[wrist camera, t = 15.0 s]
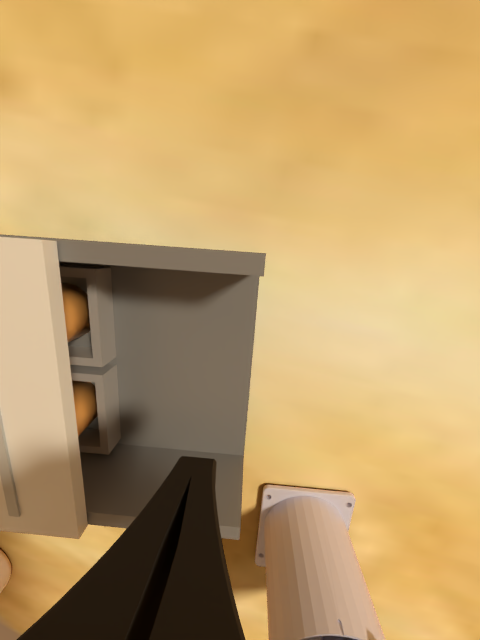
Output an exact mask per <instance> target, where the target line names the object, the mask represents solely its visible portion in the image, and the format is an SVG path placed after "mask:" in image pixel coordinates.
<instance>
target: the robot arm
mask: <svg viewBox="0 0 480 640" xmlns="http://www.w3.org/2000/svg"><path fill="white" fill-rule="evenodd" d="M216 465H217V462H216V460H215V459H210V458H200V457H189V456H181V457H180V458H179V459H178V461H177V463H176V464H175V466H174V467H173V469H172V470H171V472H170V473H169V475H168V476H167V478H166V479H165V481H164V482H163V483H162V485H161V486H160V488H159V489H158V490H157V492H156V493H155V494H154V495H153V497H152V498H151V499H150V501H149V502H148V503H147V505H146V506H145V507H144V509H143V510H142V511H141V512H140V514H139V515H138V516H137V517H136V518H135V520H134V521H133V522H132V523H131V524H130V526H129V527H128V528H127V529H126V530H125V531H124V533H123V534H122V535H121V536H120V537H119V539H118V540H117V541H116V542H115V543H114V544H113V545H112V546H111V548H110V549H109V550H108V551H107V552H106V553H105V554H104V555H103V556H102V557H101V558H100V559H99V560H98V562H97V563H96V564H95V565H94V566H93V567H92V568H91V569H90V570H89V571H88V572H87V573H86V574H85V575H84V576H83V577H82V578H81V579H80V580H79V581H78V582H77V583H76V584H75V585H74V586H73V587H72V588H71V589H70V590H69V591H68V592H67V593H66V594H65V595H64V596H63V597H62V598H61V599H60V600H59V601H58V602H57V603H56V604H55V605H54V606H53V607H52V608H51V609H50V610H49V611H47V612H46V613H45V614H44V615H43V616H42V617H41V618H40V619H39V620H38V621H37V622H36V623H34V624H33V625H32V626H31V627H30V628H29V629H28V630H27V631H26V632H24V633H23V634H22V635H21V636H20V637H19V638H18V639H17V640H245V637H244V633H243V630H242V626H241V623H240V619H239V616H238V612H237V608H236V604H235V600H234V596H233V592H232V588H231V583H230V579H229V574H228V570H227V565H226V560H225V555H224V550H223V545H222V539H221V533H220V527H219V520H218V512H217V503H216V491H215V483H216ZM354 505H355V497H354V495H353V494H352V493H350V492H340V491H330V490H320V489H310V488H299V487H289V486H279V485H265V486H264V487H263V493H262V502H261V510H260V519H259V528H258V536H257V545H256V554H255V564H256V565H257V566H262V567H266V587H267V610H268V634H269V640H385V637H384V634H383V631H382V628H381V626H380V623H379V620H378V617H377V614H376V611H375V608H374V605H373V603H372V600H371V597H370V594H369V591H368V588H367V585H366V582H365V580H364V577H363V574H362V571H361V568H360V565H359V562H358V559H357V557H356V554H355V551H354V548H353V545H352V542H351V539H350V536H349V534H348V530H349V526H350V521H351V517H352V513H353V509H354Z"/></svg>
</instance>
